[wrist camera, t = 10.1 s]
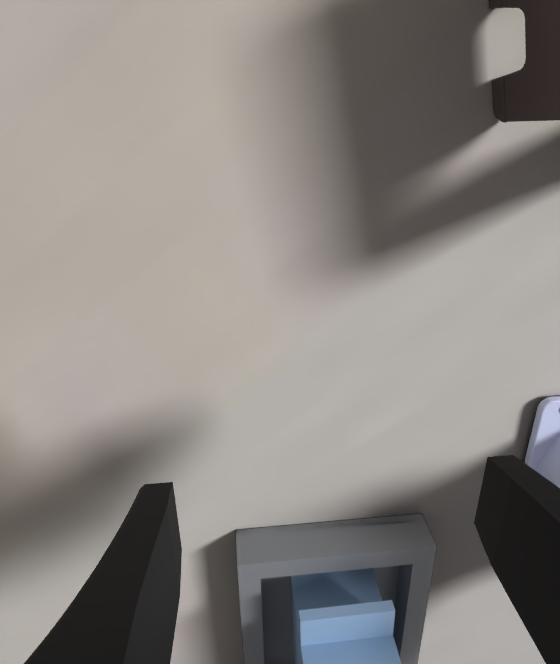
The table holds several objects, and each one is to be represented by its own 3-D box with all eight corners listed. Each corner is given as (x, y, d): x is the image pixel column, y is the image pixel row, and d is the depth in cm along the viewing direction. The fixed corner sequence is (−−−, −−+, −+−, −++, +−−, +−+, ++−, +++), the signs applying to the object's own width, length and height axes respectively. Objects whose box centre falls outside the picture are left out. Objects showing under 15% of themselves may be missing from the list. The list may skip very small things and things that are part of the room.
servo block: (372, 539, 25) (411, 659, 20) (364, 658, 29) (395, 783, 24) (289, 548, 25) (307, 671, 20) (293, 666, 29) (309, 795, 24)
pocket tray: (421, 513, 26) (436, 546, 24) (401, 655, 30) (412, 691, 29) (235, 529, 25) (237, 565, 23) (245, 672, 30) (247, 710, 28)
